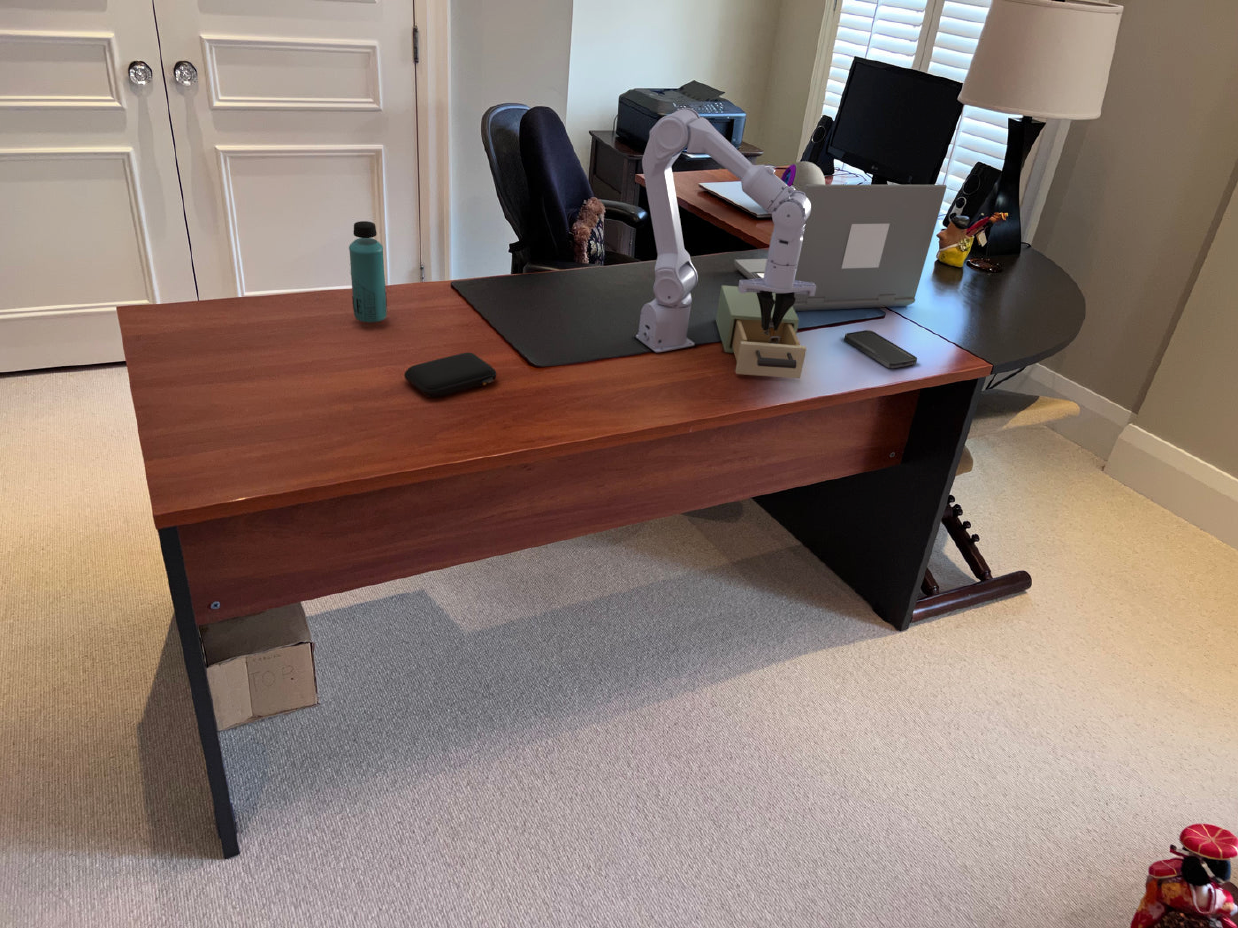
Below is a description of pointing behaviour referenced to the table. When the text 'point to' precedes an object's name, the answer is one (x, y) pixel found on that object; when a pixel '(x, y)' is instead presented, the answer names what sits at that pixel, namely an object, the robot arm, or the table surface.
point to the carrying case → (450, 374)
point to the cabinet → (742, 312)
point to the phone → (880, 349)
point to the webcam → (802, 175)
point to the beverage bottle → (367, 274)
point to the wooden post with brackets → (772, 333)
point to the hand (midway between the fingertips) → (769, 328)
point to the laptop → (862, 245)
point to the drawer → (766, 350)
